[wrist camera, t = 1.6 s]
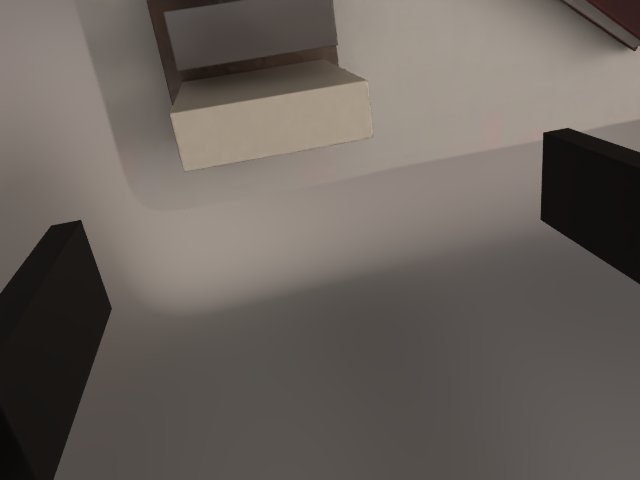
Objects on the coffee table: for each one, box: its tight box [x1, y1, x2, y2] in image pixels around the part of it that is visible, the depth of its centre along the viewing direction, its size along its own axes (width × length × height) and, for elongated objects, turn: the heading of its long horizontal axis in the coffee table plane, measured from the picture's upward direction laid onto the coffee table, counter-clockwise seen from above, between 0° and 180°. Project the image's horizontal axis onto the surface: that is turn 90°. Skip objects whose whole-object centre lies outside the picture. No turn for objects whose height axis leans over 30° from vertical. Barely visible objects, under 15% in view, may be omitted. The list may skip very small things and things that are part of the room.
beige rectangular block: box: [170, 59, 373, 172], centre depth 33 cm, size 3×10×12 cm, turn 98°
